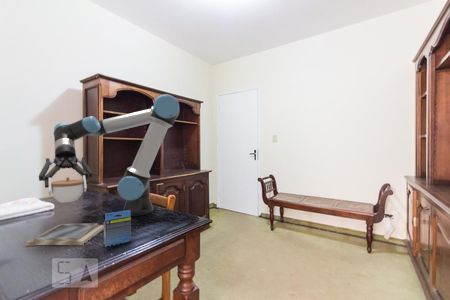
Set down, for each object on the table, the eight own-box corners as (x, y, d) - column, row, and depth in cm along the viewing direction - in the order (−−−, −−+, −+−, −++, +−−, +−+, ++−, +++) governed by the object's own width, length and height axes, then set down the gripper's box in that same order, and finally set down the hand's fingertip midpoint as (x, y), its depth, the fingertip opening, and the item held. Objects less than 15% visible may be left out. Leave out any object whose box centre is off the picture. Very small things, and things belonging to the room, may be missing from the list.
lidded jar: (72, 204, 86) (71, 179, 86) (44, 204, 87) (43, 179, 86) (89, 197, 97) (89, 175, 97) (64, 197, 97) (64, 175, 97)
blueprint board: (104, 228, 101) (104, 222, 101) (82, 245, 84) (82, 238, 84) (57, 229, 100) (57, 223, 100) (25, 246, 83) (25, 239, 83)
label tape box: (128, 238, 91) (128, 207, 90) (131, 241, 87) (130, 209, 87) (103, 243, 85) (103, 211, 85) (105, 247, 82) (105, 213, 82)
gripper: (94, 155, 111) (100, 193, 99) (31, 157, 96) (30, 201, 85) (95, 145, 106) (102, 182, 95) (30, 144, 92) (28, 189, 80)
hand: (68, 191), depth 90 cm, fingers closed on lidded jar, 11 cm apart
